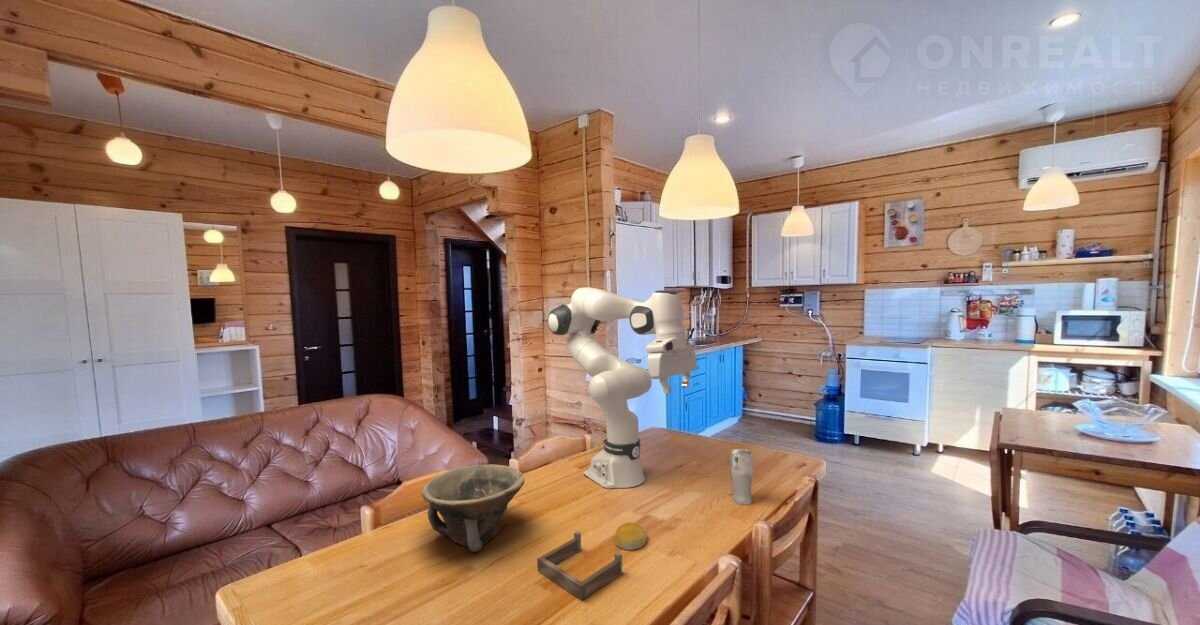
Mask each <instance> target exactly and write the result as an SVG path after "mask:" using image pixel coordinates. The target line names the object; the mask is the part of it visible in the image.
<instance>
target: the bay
mask: <svg viewBox="0 0 1200 625" xmlns="http://www.w3.org/2000/svg"><path fill="white" fill-rule="evenodd" d="M581 534H582V532H580V531H578V530H577V531H574V533H573V538H572V539H570V540H568V541H566V542H564V543H562V544H561V545H559V546H558V547H555V548H554V549H551V550H550V551H548V552H546V553H544V554H543V555H540V556H539V557H537V558H536V562H537V564H536V565H537V566H536V567H537V572H538V571H539V573H540V574H541V573H542V575H543V576H545V577H546V579H547V578H548V579H549V580H550V581H552V582H553V583H555V584H556V585H558V586H559V587H560V588H562V589H564V590H565V591H566V592H568V593H570V594H571V595H573V596H574V597H575V596H576V599H578V598H579V599H578V600H580V601H581V600H582V601H583V600H585V599H586V598H588V597H589V596H591V595H592V594H594V593H595V592H597V591H598V590H599V589H601V588H602V587H604V586H605V585H607V584H608V583H610V582H611V581H613V580H614V579H615V578H617V577H618V576H620V575H621V574H623V554H622V553H621V552H619V551H617V552H616V553H614V556H613V557H614V560H612V561H611V562H609V563H607V564H606V565H604V566H602V568H600V569H599V570H597V571H595V572H594V573H593V574H590V575H589V576H588V577H586V578H585V579H583V580H582V581H581V580H580V579H578V578H577V577H576V576H574V575H572V574H570V573H569V572H567V571H565V570H564V569H562V568H561V567H559V566H558V565H557V564H559V563H561V562H563V561H564V560H566V559H567V558H570V557H571V556H573V555H575V554H576V553H578V552H580V551H581V550H582V535H581Z"/></svg>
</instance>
